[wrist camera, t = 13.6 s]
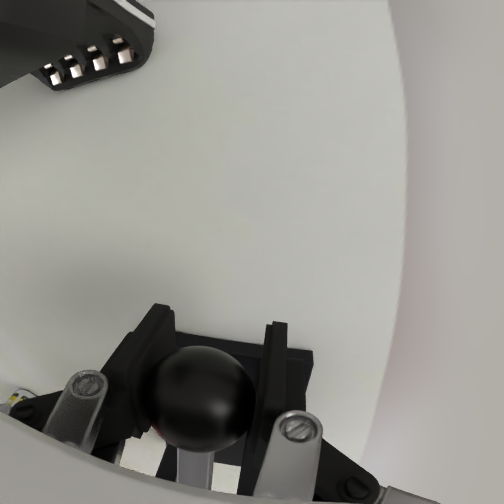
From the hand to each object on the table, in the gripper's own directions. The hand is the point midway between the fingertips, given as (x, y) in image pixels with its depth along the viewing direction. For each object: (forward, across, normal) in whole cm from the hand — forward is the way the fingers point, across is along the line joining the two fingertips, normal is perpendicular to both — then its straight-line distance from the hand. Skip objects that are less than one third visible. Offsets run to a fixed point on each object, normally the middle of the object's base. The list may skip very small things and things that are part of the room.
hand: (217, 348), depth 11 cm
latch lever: (-3, 0, +5) cm, 6 cm away
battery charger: (+5, +8, -12) cm, 15 cm away
